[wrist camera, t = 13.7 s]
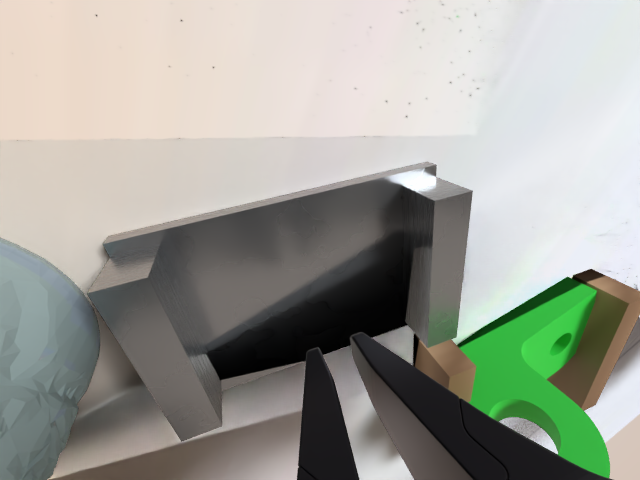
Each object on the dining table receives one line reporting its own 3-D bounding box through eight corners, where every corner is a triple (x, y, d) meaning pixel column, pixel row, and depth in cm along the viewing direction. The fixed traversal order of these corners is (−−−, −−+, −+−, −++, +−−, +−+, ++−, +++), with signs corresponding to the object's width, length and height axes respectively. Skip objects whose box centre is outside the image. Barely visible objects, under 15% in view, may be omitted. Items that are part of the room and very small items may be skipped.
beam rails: (591, 268, 19) (648, 295, 17) (554, 371, 24) (595, 405, 21) (413, 333, 17) (449, 377, 14) (411, 434, 21) (438, 481, 19)
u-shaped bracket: (427, 161, 12) (474, 176, 10) (421, 310, 16) (455, 345, 14) (108, 236, 10) (76, 277, 8) (191, 390, 14) (186, 449, 11)
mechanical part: (427, 422, 21) (539, 576, 14) (408, 377, 18) (539, 548, 11) (557, 330, 22) (714, 430, 16) (561, 273, 19) (759, 368, 13)
